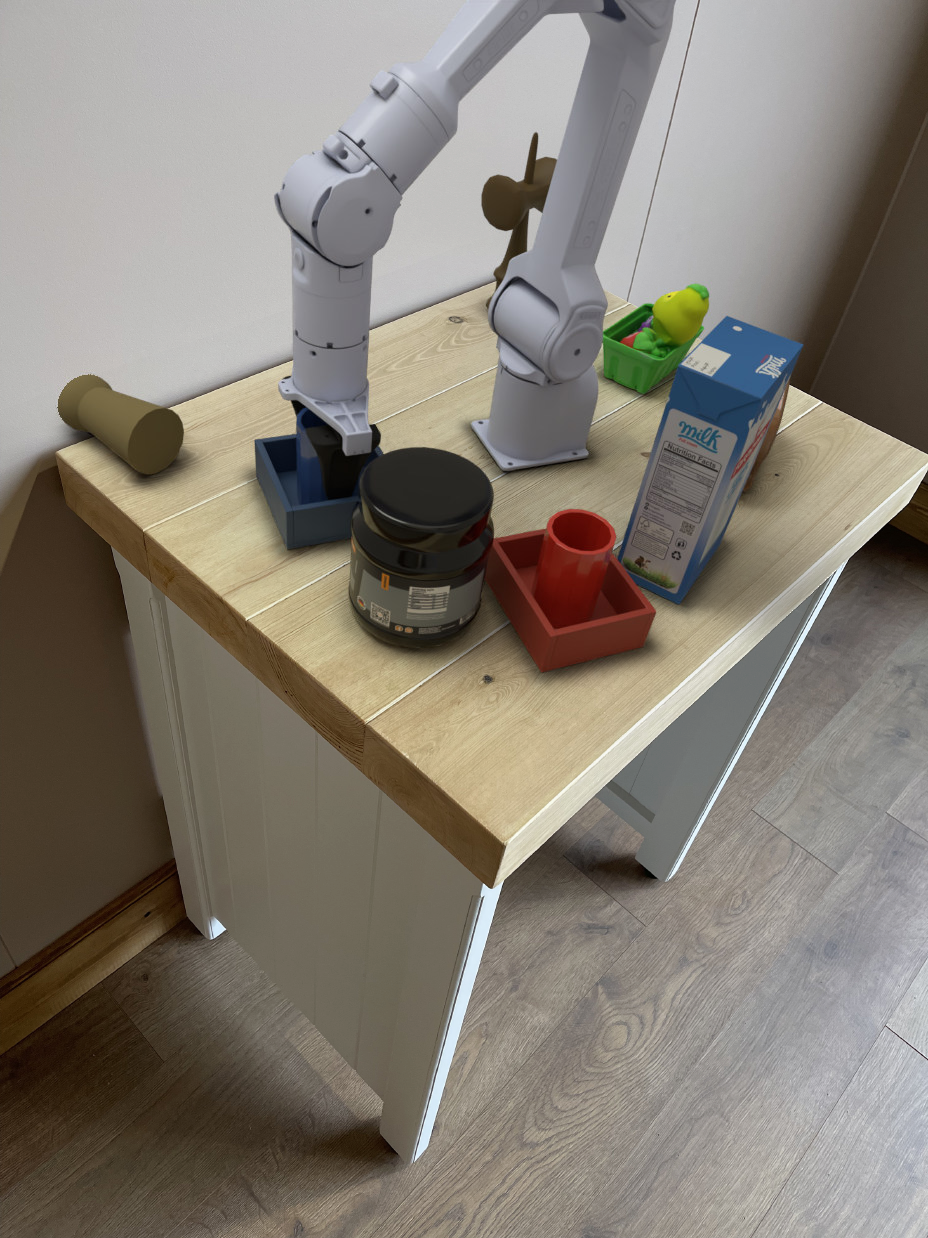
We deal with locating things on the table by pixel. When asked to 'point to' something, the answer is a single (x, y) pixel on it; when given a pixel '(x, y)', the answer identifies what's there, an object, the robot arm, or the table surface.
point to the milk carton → (704, 453)
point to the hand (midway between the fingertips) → (328, 475)
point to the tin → (768, 439)
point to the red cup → (572, 566)
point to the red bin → (608, 632)
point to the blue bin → (281, 495)
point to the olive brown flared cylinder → (123, 423)
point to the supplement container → (420, 546)
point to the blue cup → (309, 461)
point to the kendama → (517, 204)
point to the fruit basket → (654, 338)
